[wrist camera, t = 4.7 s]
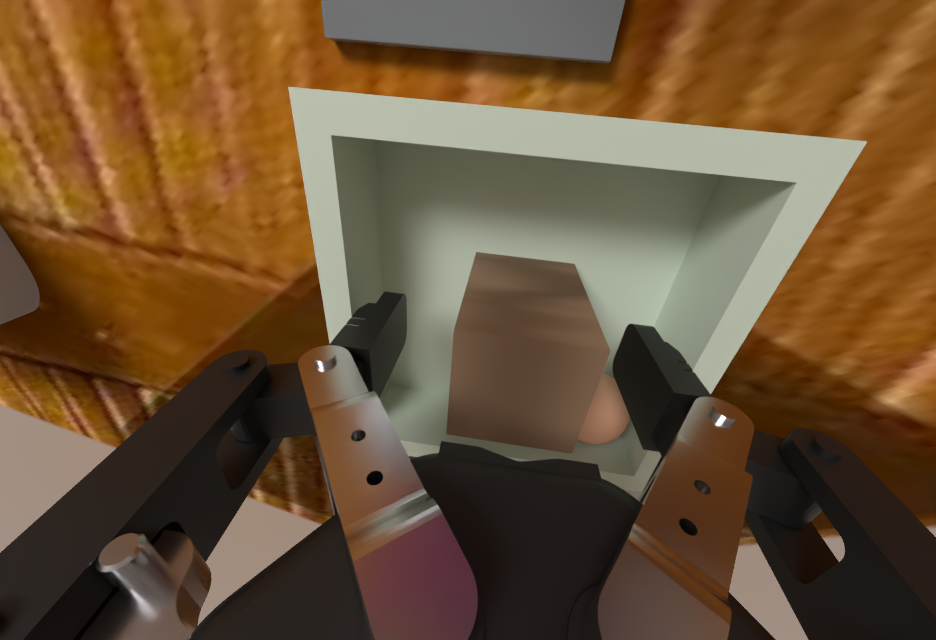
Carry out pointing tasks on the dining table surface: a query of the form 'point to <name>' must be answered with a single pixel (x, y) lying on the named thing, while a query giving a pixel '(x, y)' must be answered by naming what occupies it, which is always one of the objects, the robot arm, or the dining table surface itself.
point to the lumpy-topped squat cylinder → (15, 283)
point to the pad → (482, 26)
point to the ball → (605, 414)
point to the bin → (553, 231)
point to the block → (524, 354)
